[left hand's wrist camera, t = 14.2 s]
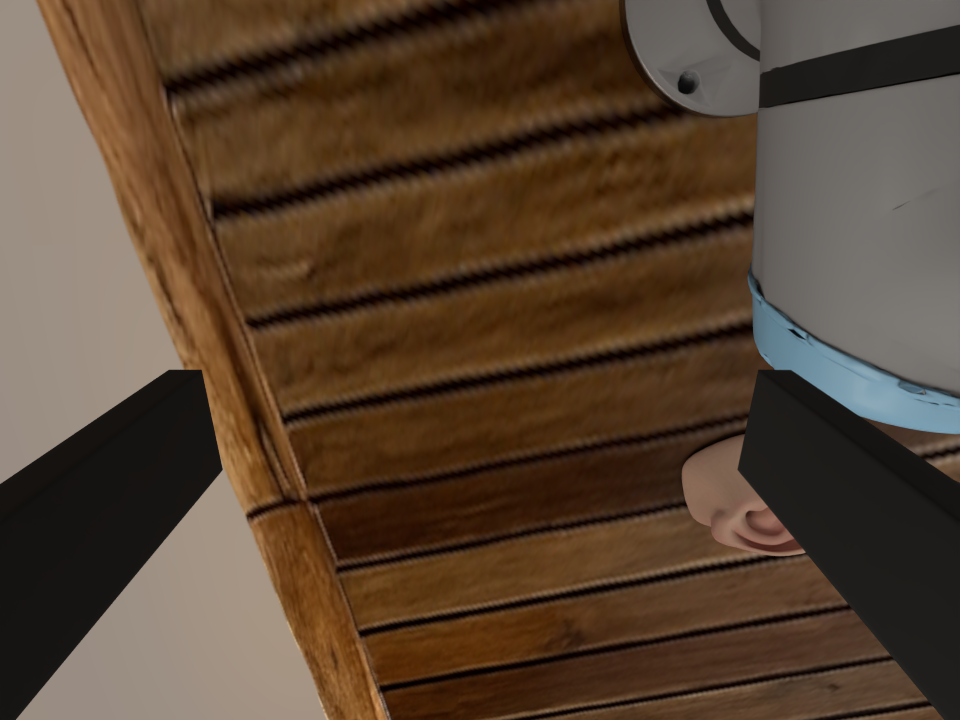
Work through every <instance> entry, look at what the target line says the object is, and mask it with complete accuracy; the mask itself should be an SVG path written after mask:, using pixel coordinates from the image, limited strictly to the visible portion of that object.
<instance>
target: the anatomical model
mask: <svg viewBox="0 0 960 720" xmlns="http://www.w3.org/2000/svg"><path fill="white" fill-rule="evenodd" d="M744 436H745V434H743V435H738V436H735V437H731V438H728V439H726V440H723V441H720V442H718V443H715V444H713V445H711V446H709V447H706V448H704V449H702V450H701V451H699V452H697V453H695V454H694V455H692V456H691V457H690V458H689V459H688V460H687V461H686V462H685V464H684V466H683V469H682V484H683V490H684V496H685V500H686V503H687V506H688V508H689V511H690V513H691V515H692V516H693V518H694V519H695V520H696V521H698V522H700V523H702V524H704V525H707V526H710V527H711V532H712V535H713V537H714V538H715V539H716V540H717V541H718V542H720V543H722V544H725V545H729V546H732V547H736V548H740V549H743V550H747V551H751V552H755V553H759V554H764V555H772V556H788V555H795V554H801V553H806V552H805V551H804V550H803V549H802V547H801V546H800V545H799V544H798V542H797V541H796V540H795V539H794V538H793V536H792V535H791V534H790V533H789V532H788V530H787V529H786V528H785V527H784V526H783V524H782V523H781V522H780V521H779V520H778V518H777V517H776V516H775V515H774V514H773V512H772V511H771V510H770V509H769V507H768V506H767V505H766V504H765V503H764V501H763V500H762V499H761V498H760V497H759V495H758V494H757V493H756V492H755V491H754V489H753V488H752V487H751V486H750V485H749V483H748V482H747V481H746V480H745V478H744V477H743V476H742V475H741V474H740V472H739V471H738V470H737V469H738V464H739V459H740V455H741V450H742V445H743V441H744Z"/></svg>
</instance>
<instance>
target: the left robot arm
mask: <svg viewBox="0 0 960 720" xmlns="http://www.w3.org/2000/svg"><path fill="white" fill-rule="evenodd" d="M619 11H620V21H621V27H622V33H623V37H624V41H625V44H626V48H627V50H628V53H629V55H630V58H631V60H632V62H633V64H634V66H635V68H636V70H637V71H638V73H639V75H640V76H641V78H642V79H643V80H644V82H645V83H646V84H647V85H648V87H649V88H650V89H651V90H652V91H653V92H654V93H655V94H656V95H657V96H659V97H660V98H661V99H662V100H664V101H665V102H666V103H668V104H670V105H671V106H673V107H675V108H677V109H679V110H681V111H683V112H686V113H689V114H692V115H695V116H700V117H706V118H731V117H738V116H745V115H750V114H754V113H758V116H757V150H756V184H755V207H754V228H753V248H752V262H751V265H750V269H749V271H748V284H749V287H750V290H751V293H752V295H753V333H754V339H755V343H756V345H757V348H758V350H759V352H760V354H761V356H762V357H763V358H764V359H765V360H766V361H767V362H768V363H769V364H770V365H771V366H772V367H774V369H775V370H758V374H757V379H756V384H755V389H754V393H753V398H752V403H751V407H750V412H749V417H748V422H747V426H746V431H745V436H744V441H743V445H742V450H741V455H740V459H739V464H738V469H737V470H738V471H739V472H740V474H741V475H742V476H743V477H744V478H745V480H746V481H747V482H748V483H749V485H750V486H751V487H752V488H753V489H754V491H755V492H756V493H757V494H758V495H759V497H760V498H761V499H762V500H763V501H764V503H765V504H766V505H767V506H768V507H769V509H770V510H771V511H772V512H773V514H774V515H775V516H776V517H777V518H778V520H779V521H780V522H781V523H782V524H783V526H784V527H785V528H786V529H787V530H788V532H789V533H790V534H791V535H792V536H793V538H794V539H795V540H796V541H797V542H798V544H799V545H800V546H801V547H802V549H803V550H804V551H805V552H806V553H807V555H808V556H809V557H810V558H811V559H812V561H813V562H814V563H815V564H816V565H817V567H818V568H819V569H820V570H821V571H822V573H823V574H824V575H825V576H826V577H827V579H828V580H829V581H830V582H831V584H832V585H833V586H834V587H835V588H836V590H837V591H838V592H839V593H840V594H841V596H842V597H843V598H844V599H845V600H846V602H847V603H848V604H849V605H850V606H851V608H852V609H853V610H854V611H855V612H856V614H857V615H858V616H859V617H860V619H861V620H862V621H863V622H864V623H865V625H866V626H867V627H868V628H869V629H870V631H871V632H872V633H873V634H874V635H875V637H876V638H877V639H878V640H879V641H880V643H881V644H882V645H883V646H884V648H885V649H886V650H887V651H888V652H889V654H890V655H891V656H892V657H893V658H894V660H895V661H896V662H897V663H898V664H899V666H900V667H901V668H902V669H903V670H904V672H905V673H906V674H907V675H908V676H909V678H910V679H911V680H912V681H913V683H914V684H915V685H916V686H917V687H918V689H919V690H920V691H921V692H922V693H923V695H924V696H925V697H926V698H927V699H928V701H929V702H930V703H931V704H932V705H933V707H934V708H935V709H936V710H937V711H938V713H939V714H940V715H941V716H942V718H943V719H944V720H960V483H959V482H957V481H955V480H953V479H951V478H950V477H948V476H947V475H946V474H944V473H943V472H941V471H940V470H938V469H937V468H935V467H934V466H932V465H931V464H929V463H928V462H926V461H925V460H923V459H922V458H920V457H919V456H917V455H916V454H915V453H913V452H912V451H910V450H909V449H907V448H906V447H904V446H903V445H901V444H900V443H898V442H897V441H895V440H894V439H892V438H891V437H889V436H888V435H886V434H885V433H884V432H882V431H881V430H879V429H878V428H876V427H875V426H873V425H872V424H870V423H869V422H867V421H866V420H864V419H863V418H861V417H860V416H862V417H865V418H868V419H871V420H875V421H879V422H883V423H887V424H891V425H895V426H900V427H905V428H910V429H916V430H922V431H929V432H937V433H949V434H960V0H619ZM957 74H958V75H957ZM940 77H941V78H940ZM934 78H935V79H934ZM928 79H929V80H928ZM922 80H923V81H922ZM916 81H918V82H916ZM911 82H912V83H911ZM905 83H906V84H905ZM888 86H889V87H888ZM882 87H883V88H882ZM876 88H877V89H876ZM870 89H872V90H870ZM864 90H866V91H864ZM859 91H860V92H859ZM853 92H854V93H853ZM848 93H849V94H848ZM842 94H843V95H842ZM836 95H837V96H836ZM830 96H832V97H830ZM824 97H826V98H824ZM819 98H820V99H819ZM813 99H814V100H813ZM806 100H809V101H806ZM800 101H803V102H800ZM795 102H797V103H795ZM789 103H792V104H789ZM782 104H786V105H782ZM778 105H781V106H778ZM858 415H859V416H858ZM222 470H223V469H222V464H221V459H220V455H219V450H218V445H217V441H216V436H215V431H214V426H213V422H212V417H211V412H210V407H209V403H208V398H207V393H206V389H205V384H204V379H203V374H202V370H168V371H167V372H165V373H164V374H162V375H161V376H159V377H158V378H156V379H155V380H153V381H152V382H150V383H149V384H147V385H146V386H144V387H143V388H142V389H140V390H139V391H137V392H136V393H134V394H133V395H131V396H130V397H128V398H127V399H125V400H124V401H122V402H121V403H119V404H118V405H116V406H115V407H113V408H112V409H110V410H109V411H108V412H106V413H105V414H103V415H102V416H100V417H99V418H97V419H96V420H94V421H93V422H91V423H90V424H88V425H87V426H85V427H84V428H82V429H81V430H79V431H78V432H76V433H75V434H74V435H72V436H71V437H69V438H68V439H66V440H65V441H63V442H62V443H60V444H59V445H57V446H56V447H54V448H53V449H51V450H50V451H48V452H47V453H45V454H44V455H43V456H41V457H40V458H38V459H37V460H35V461H34V462H32V463H31V464H29V465H28V466H26V467H25V468H23V469H22V470H20V471H19V472H17V473H16V474H14V475H13V476H12V477H10V478H9V479H7V480H6V481H4V482H3V483H1V484H0V720H16V719H17V718H18V716H19V715H20V714H21V713H22V711H23V710H24V709H25V708H26V707H27V705H28V704H29V703H30V702H31V701H32V699H33V698H34V697H35V696H36V695H37V693H38V692H39V691H40V690H41V689H42V687H43V686H44V685H45V684H46V682H47V681H48V680H49V679H50V678H51V676H52V675H53V674H54V673H55V672H56V670H57V669H58V668H59V667H60V666H61V664H62V663H63V662H64V661H65V660H66V658H67V657H68V656H69V655H70V654H71V652H72V651H73V650H74V649H75V647H76V646H77V645H78V644H79V643H80V641H81V640H82V639H83V638H84V637H85V635H86V634H87V633H88V632H89V631H90V629H91V628H92V627H93V626H94V625H95V623H96V622H97V621H98V620H99V618H100V617H101V616H102V615H103V614H104V612H105V611H106V610H107V609H108V608H109V606H110V605H111V604H112V603H113V602H114V600H115V599H116V598H117V597H118V596H119V594H120V593H121V592H122V591H123V589H124V588H125V587H126V586H127V585H128V583H129V582H130V581H131V580H132V579H133V577H134V576H135V575H136V574H137V573H138V571H139V570H140V569H141V568H142V567H143V565H144V564H145V563H146V562H147V561H148V559H149V558H150V557H151V556H152V555H153V553H154V552H155V551H156V550H157V549H158V547H159V546H160V545H161V544H162V542H163V541H164V540H165V539H166V538H167V536H168V535H169V534H170V533H171V532H172V530H173V529H174V528H175V527H176V526H177V524H178V523H179V522H180V521H181V520H182V518H183V517H184V516H185V515H186V514H187V512H188V511H189V510H190V509H191V507H192V506H193V505H194V504H195V503H196V501H197V500H198V499H199V498H200V497H201V495H202V494H203V493H204V492H205V491H206V489H207V488H208V487H209V486H210V484H211V483H212V482H213V481H214V480H215V478H216V477H217V476H218V475H219V474H220V472H221V471H222Z"/></svg>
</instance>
